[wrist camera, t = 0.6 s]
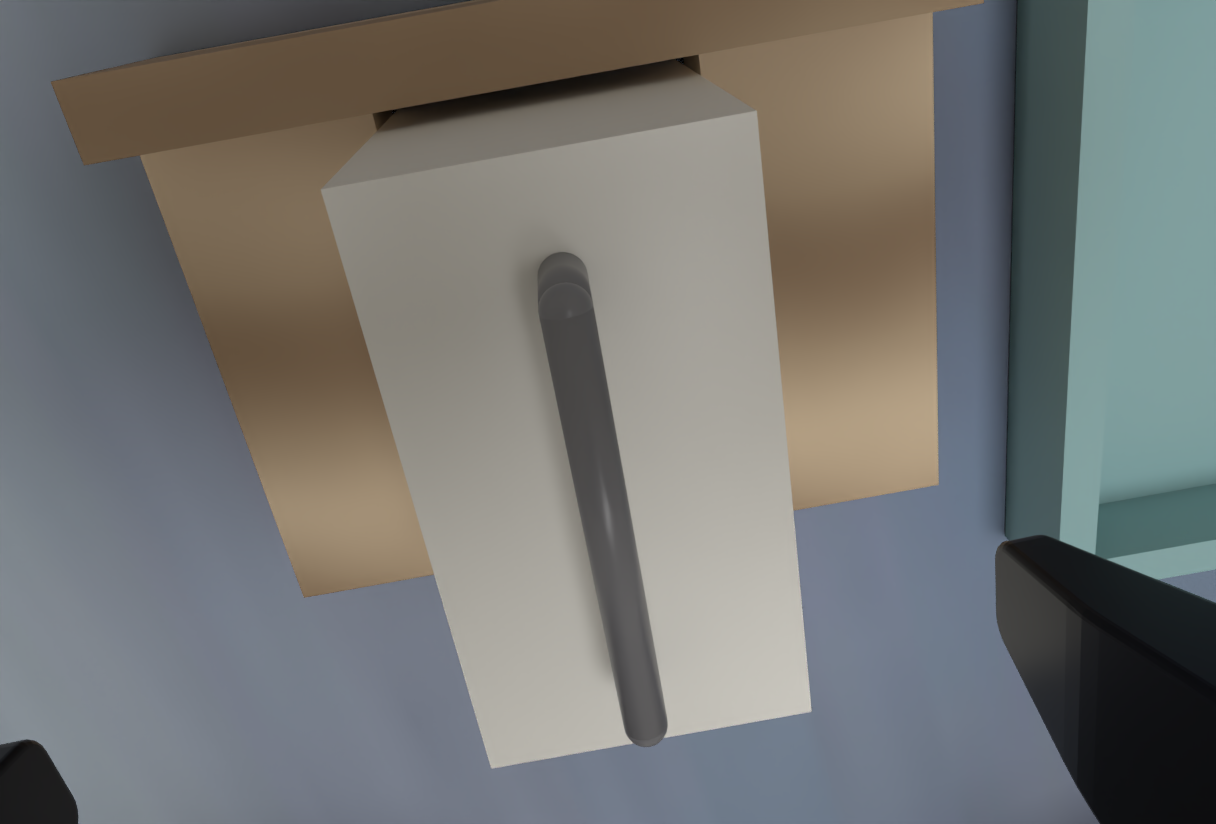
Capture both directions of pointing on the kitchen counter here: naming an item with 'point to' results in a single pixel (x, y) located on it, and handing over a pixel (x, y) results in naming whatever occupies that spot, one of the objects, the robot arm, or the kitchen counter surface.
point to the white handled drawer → (587, 401)
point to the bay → (508, 58)
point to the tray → (1115, 282)
